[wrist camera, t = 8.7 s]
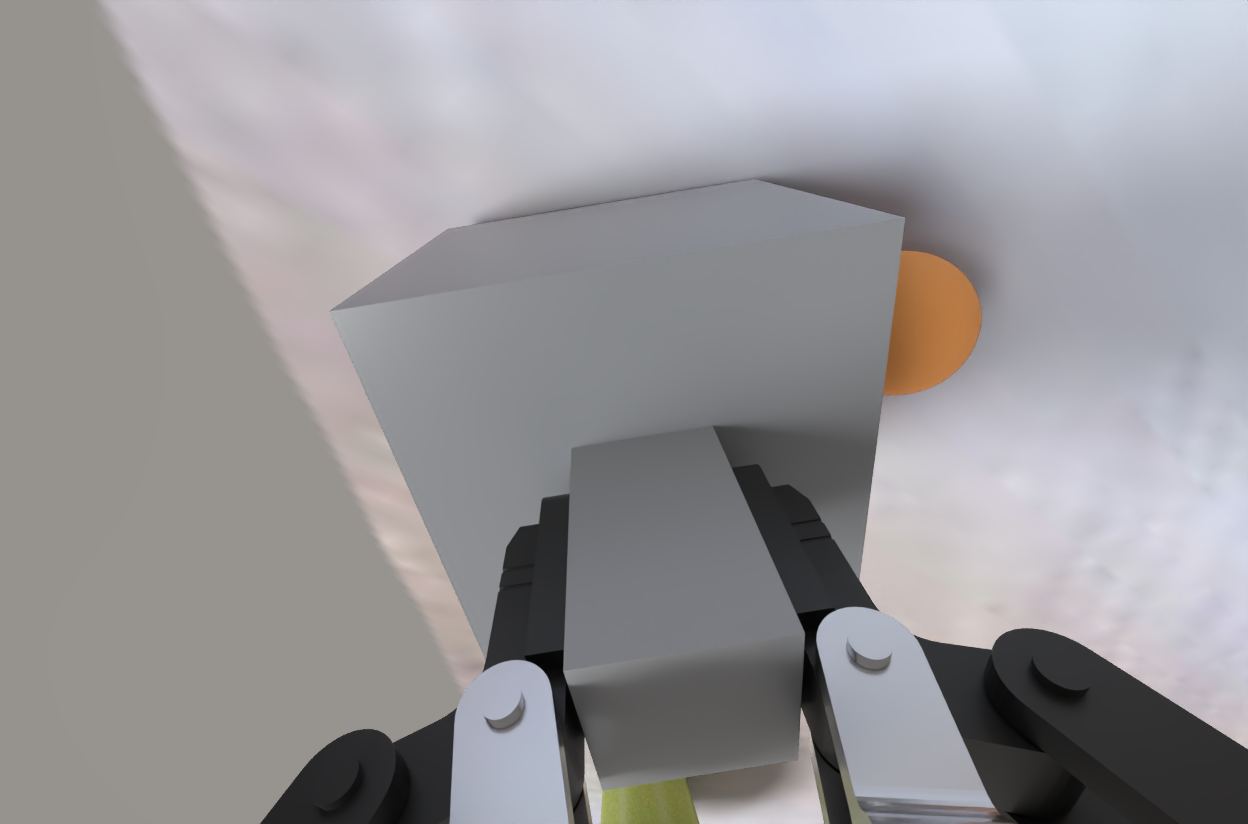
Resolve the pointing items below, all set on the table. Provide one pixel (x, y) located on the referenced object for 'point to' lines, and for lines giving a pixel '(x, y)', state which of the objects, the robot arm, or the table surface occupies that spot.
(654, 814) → the plant pot
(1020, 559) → the table surface
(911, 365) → the ball
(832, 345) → the grey block with knob
